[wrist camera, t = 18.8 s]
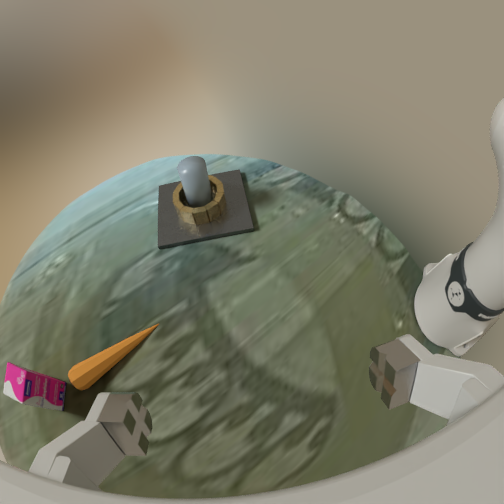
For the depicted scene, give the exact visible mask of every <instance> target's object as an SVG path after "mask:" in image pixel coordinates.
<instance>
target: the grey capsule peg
mask: <svg viewBox="0 0 504 504" xmlns="http://www.w3.org/2000/svg"><path fill="white" fill-rule="evenodd" d="M177 170H178V173H179V176H180V179H181V183H182V186H183V189H184V192H185V195H186V198H187V201H188V204H189V207H191V208H197V207H202V206H205V205H207V204H208V203H210V202H211V201H213V196H212V191H211V187H210V182H209V178H208V173H207V168H206V164H205V160H204V159H203V158H201V157H198V156H191V157H188V158H185V159H183V160H182V161H181V162H180V163H179V164H178V166H177Z"/></svg>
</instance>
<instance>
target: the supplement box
mask: <svg viewBox="0 0 504 504" xmlns="http://www.w3.org/2000/svg"><path fill="white" fill-rule="evenodd" d="M65 388H66V382H63V381H60V380H58V379H55V378H52V377H50V376H47V375H44V374H40V373H37V372H34V371H31V370H28V369H26V368H23V367H20V366H17V365H15V364H12V363H10V362H8V363H7V369H6V376H5V384H4V392H3V393H4V394H5V395H7V396H9V397H11V398H12V399H14V400H16V401H18V402H20V403H22V404H25V405H30V406H35V407H41V408H47V409H54V410H61V411H63V409H64V396H65Z"/></svg>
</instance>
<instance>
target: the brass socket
mask: <svg viewBox="0 0 504 504" xmlns="http://www.w3.org/2000/svg"><path fill="white" fill-rule="evenodd" d="M208 178H209V182H210V187H211V191H212V192H214V193H215V194H216V196H215V198H214V200H213V201H211V202H210V203H208V204H207V205H205V206H202V207H197V208H191V207H187V206H184V205H183V204H184V202H185V200H186V199H187V198H186V195H185V192H184V189H183V186H182V183H180V184H178V186H177V187H176V189H175V190H174V192H173V204H174V206H175V209H176V211H177V214H178V215H179V216H180V218H181V219H182V220H183V221H185V222H186V223H190V224H194V225H196V224H197V225H199V224H204V223H209V221H210V222H211V221H213V220H214V219H216V218H217V217H219V216H220V215H221V214H222V212H223V210H224V208H225V206H226V200H225V194H224V189H223V183H222V182H221V181H220V180H218V179H217V178H216V177H214V176H211V175H208Z"/></svg>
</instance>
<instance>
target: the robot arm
mask: <svg viewBox="0 0 504 504" xmlns="http://www.w3.org/2000/svg"><path fill="white" fill-rule="evenodd" d="M490 141H491V147H492V150H493V153H494V156H495V159H496V163H497V169H498V177H499V191H498V199H497V204H496V208H495V211H494V214H493V216H492V218H491V220H490V221H489V223H488V224H487V226H486V227H485V229H484V230H483V231H482V233H481V234H480V235H479V236H478V238H477V239H476V240H475V241H474V242H472V243H470V244H468V245H467V246H466V247H464V248H463V249H462V250H461V251H460V252H459V253H455V254H451V253H450V254H448V255H447V256H446V257H445V258H444V259H443V260H441V261H440V262H439V263H430V264H428V265H426V266H425V268H424V273H423V280H422V282H421V284H420V285H419V287H418V289H417V292H416V295H415V314H416V318H417V321H418V324H419V326H420V328H421V330H422V331H423V333H424V334H425V336H426V337H427V338H428V339H429V340H430V341H432V342H433V343H435V344H436V345H438V346H441V347H445V348H447V349H449V350H450V351H451V352H452V353H453V354H455V355H456V356H458V357H460V356H462V355H464V354H465V353H466V352H467V351H468V350H469V349H470V348H471V347H472V346H473V345H474V344H475V343H476V342H477V341H478V340H479V339H480V338H481V337H482V336H483V335H484V334H485V333H486V332H487V331H488V330H489V329H490V328H491V327H492V326H493V325H494V324H495V322H496V321H497V320H498V319H499V315H500V314H501V313H502V312H503V311H504V98H503V99H502V100H501V101H500V102H499V103H498V104H497V106H496V108H495V110H494V112H493V115H492V118H491V123H490ZM463 345H464V347H463ZM370 358H371V359H372V361H373V362H372V364H371V365H370V367H369V377H370V381H371V384H372V386H373V387H374V389H375V390H376V391H379V392H382V393H381V399H382V400H383V402H384V403H385V405H386V406H387V407H388V409H392V408H394V407H397V406H399V405H402V404H404V403H406V402H409V401H410V403H413V404H415V405H417V406H419V407H421V408H424V409H426V410H428V411H430V412H433V413H435V414H437V415H440V416H442V417H444V418H447V419H449V420H448V423H447V425H446V427H444V428H443V429H441V430H439V431H438V432H436V433H434V434H432V435H430V436H429V437H427V438H425V439H423V440H421V441H419V442H417V443H415V444H413V445H411V446H409V447H407V448H405V449H403V450H401V451H399V452H397V453H395V454H392V455H390V456H388V457H385V458H383V459H381V460H378V461H376V462H373V463H371V464H368V465H366V466H363V467H360V468H358V469H355V470H352V471H349V472H346V473H343V474H340V475H337V476H333V477H330V478H327V479H323V480H320V481H316V482H312V483H308V484H304V485H300V486H296V487H291V488H286V489H281V490H276V491H270V492H264V493H258V494H251V495H243V496H233V497H221V498H203V499H167V498H149V497H137V496H128V495H120V494H113V493H107V492H103V491H102V490H101V489H100V488H99V487H98V485H99V484H100V483H101V482H102V481H103V480H104V479H105V478H106V477H107V476H108V475H109V474H110V473H111V471H112V470H113V469H114V468H115V467H116V466H117V465H118V464H119V463H120V462H121V460H122V459H123V458H124V457H125V455H134V456H146V454H147V449H148V445H149V441H148V440H147V438H146V437H147V436H148V435H149V434H150V433H151V431H152V419H151V416H150V413H149V411H148V409H146V408H145V407H143V406H142V405H141V404H142V401H143V400H142V398H141V397H140V395H139V394H138V393H136V392H112V393H104V392H101V393H99V394H98V395H97V397H96V399H95V401H94V403H93V405H92V407H91V409H90V411H89V413H88V415H87V418H86V420H85V421H81V422H79V423H78V424H76V425H75V426H73V427H72V428H71V429H69V430H68V431H66V432H65V433H63V434H62V435H60V436H59V437H57V438H56V439H55V440H53V441H52V442H50V443H49V444H47V445H46V446H44V447H43V448H41V449H40V450H39V451H38V453H37V455H36V457H35V459H34V461H33V463H32V465H31V467H30V469H29V472H27V471H25V470H22V469H19V468H17V467H14V466H12V465H10V464H7V463H5V462H3V461H0V504H504V376H503V375H502V374H501V373H500V372H498V371H497V370H496V369H495V368H494V367H492V366H491V365H489V364H484V363H479V362H474V361H469V360H464V359H459V358H454V357H449V356H445V355H440V354H435V355H433V354H431V353H430V352H429V351H428V350H427V349H426V348H425V347H424V346H422V345H421V344H420V343H419V342H418V341H417V340H416V339H414V338H413V337H412V336H411V335H409V334H406V335H404V336H401V337H399V338H396V339H395V340H392V341H389V342H387V343H384V344H381V345H378V346H375V347H372V348H371V351H370Z"/></svg>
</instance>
